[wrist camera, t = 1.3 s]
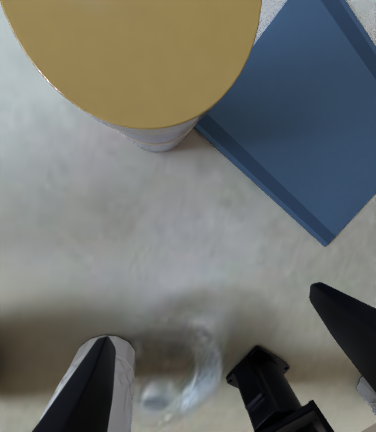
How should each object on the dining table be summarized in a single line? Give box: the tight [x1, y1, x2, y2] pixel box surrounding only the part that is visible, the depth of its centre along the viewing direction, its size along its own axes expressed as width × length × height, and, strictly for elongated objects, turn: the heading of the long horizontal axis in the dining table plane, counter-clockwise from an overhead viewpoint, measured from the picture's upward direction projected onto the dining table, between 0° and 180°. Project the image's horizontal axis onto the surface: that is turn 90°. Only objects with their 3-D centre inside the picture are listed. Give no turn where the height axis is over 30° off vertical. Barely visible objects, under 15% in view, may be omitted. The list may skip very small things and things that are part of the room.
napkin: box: [194, 0, 376, 247], centre depth 19 cm, size 20×16×1 cm
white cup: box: [38, 335, 136, 432], centre depth 18 cm, size 8×8×10 cm
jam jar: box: [0, 0, 262, 153], centre depth 11 cm, size 6×6×13 cm
